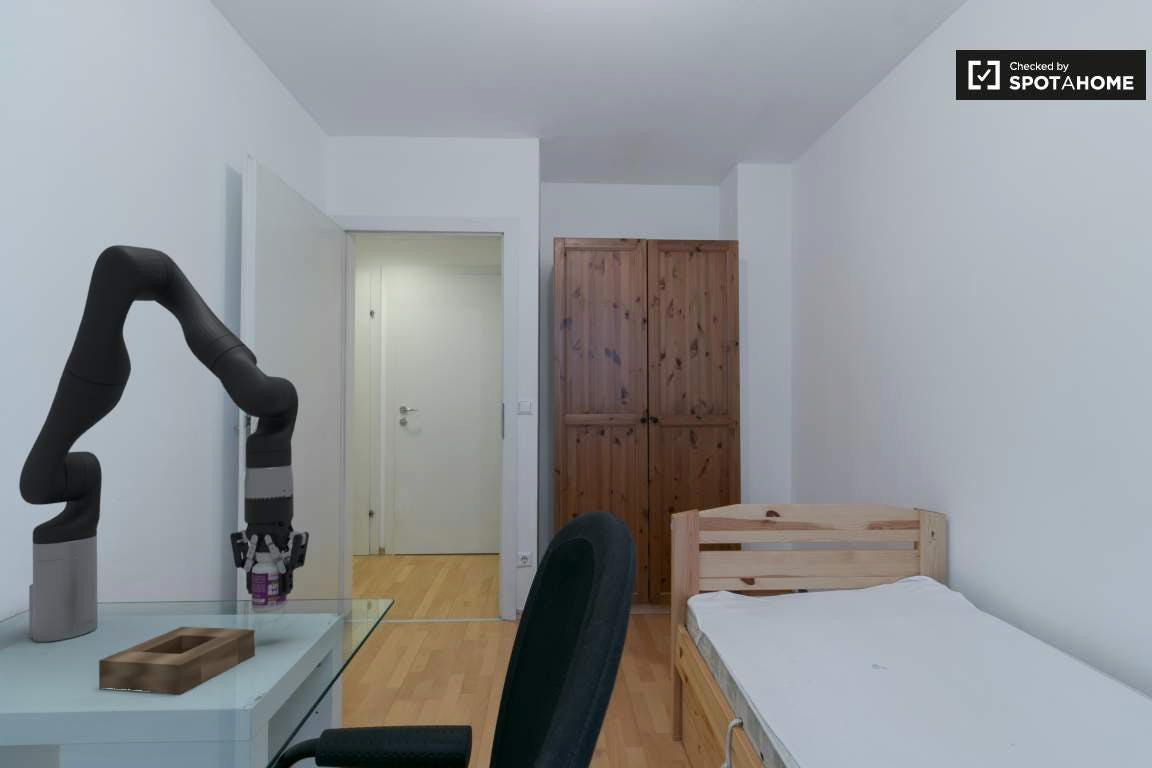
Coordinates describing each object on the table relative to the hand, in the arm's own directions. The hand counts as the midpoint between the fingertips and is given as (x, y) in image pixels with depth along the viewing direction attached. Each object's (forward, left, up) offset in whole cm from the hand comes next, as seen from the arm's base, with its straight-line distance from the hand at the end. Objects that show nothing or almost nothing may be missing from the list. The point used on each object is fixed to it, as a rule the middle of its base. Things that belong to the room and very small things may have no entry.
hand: (269, 593), depth 105 cm
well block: (-6, -12, -8) cm, 16 cm away
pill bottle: (0, 0, -3) cm, 3 cm away
